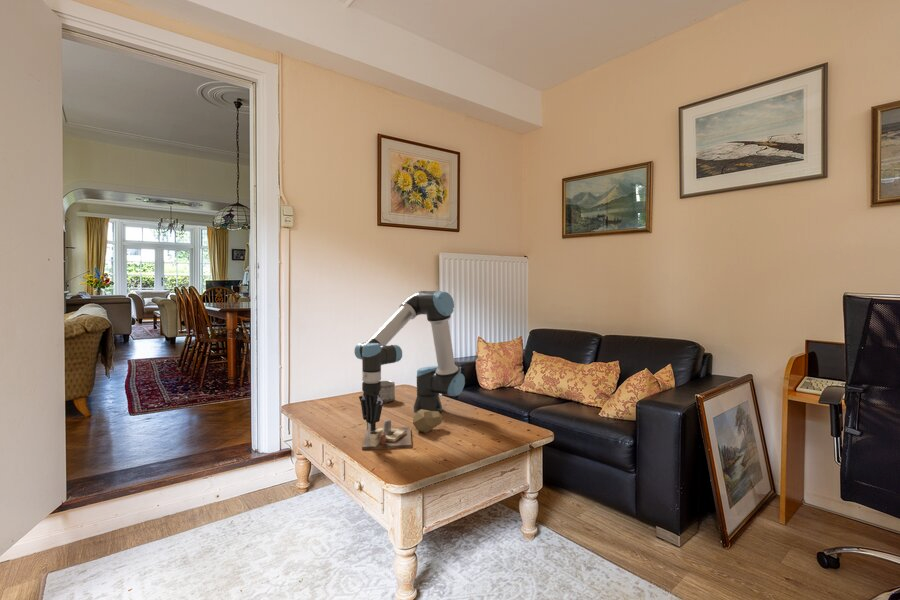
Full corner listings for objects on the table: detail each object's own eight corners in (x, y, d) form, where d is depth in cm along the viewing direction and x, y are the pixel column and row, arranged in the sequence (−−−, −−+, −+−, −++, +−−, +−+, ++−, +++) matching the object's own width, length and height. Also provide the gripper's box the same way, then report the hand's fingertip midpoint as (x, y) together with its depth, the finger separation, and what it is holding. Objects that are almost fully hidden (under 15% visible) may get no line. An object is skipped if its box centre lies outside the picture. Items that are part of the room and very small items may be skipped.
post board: (410, 429, 201) (410, 412, 201) (411, 447, 179) (411, 428, 179) (366, 431, 199) (366, 414, 198) (362, 449, 177) (361, 430, 177)
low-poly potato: (410, 436, 193) (431, 427, 189) (404, 412, 198) (424, 403, 194) (428, 436, 206) (448, 427, 201) (422, 413, 210) (442, 404, 206)
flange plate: (381, 429, 196) (381, 418, 196) (406, 432, 193) (406, 420, 192) (359, 444, 179) (359, 431, 178) (386, 448, 175) (386, 435, 174)
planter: (373, 398, 256) (373, 381, 255) (394, 397, 257) (394, 380, 257) (371, 404, 243) (371, 386, 243) (394, 403, 244) (394, 385, 244)
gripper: (354, 380, 180) (353, 436, 181) (375, 385, 172) (375, 444, 173) (367, 377, 186) (367, 432, 187) (389, 382, 178) (388, 439, 179)
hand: (371, 437), depth 180 cm, fingers closed
